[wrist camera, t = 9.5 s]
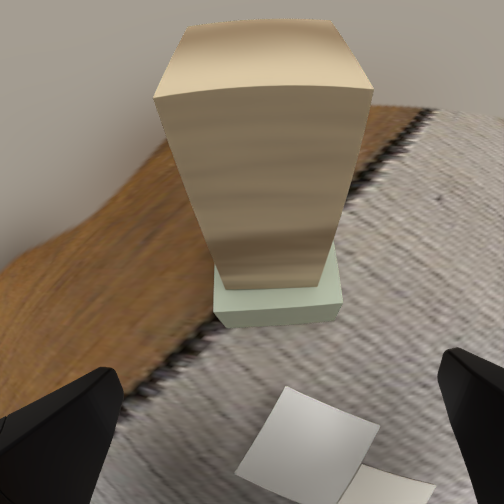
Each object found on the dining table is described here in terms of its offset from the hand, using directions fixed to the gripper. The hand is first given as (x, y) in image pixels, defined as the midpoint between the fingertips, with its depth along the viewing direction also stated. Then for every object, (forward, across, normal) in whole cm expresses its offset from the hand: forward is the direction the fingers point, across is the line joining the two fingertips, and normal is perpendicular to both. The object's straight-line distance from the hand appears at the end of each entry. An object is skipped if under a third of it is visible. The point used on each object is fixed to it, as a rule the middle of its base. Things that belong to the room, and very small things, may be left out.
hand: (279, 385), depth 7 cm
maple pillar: (+11, 0, 0) cm, 11 cm away
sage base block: (+14, 0, +3) cm, 14 cm away
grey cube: (+6, -1, +10) cm, 12 cm away
